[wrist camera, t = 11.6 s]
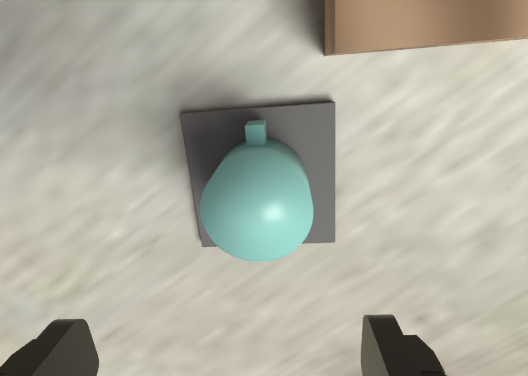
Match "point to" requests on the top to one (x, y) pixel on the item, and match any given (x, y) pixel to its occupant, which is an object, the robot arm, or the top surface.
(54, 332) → the robot arm
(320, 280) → the top surface
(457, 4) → the post block
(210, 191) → the teal rounded tabbed figurine
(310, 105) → the coaster
